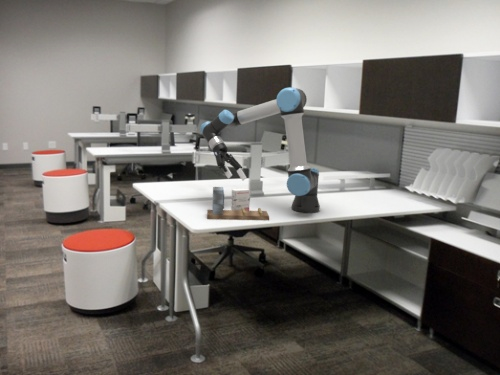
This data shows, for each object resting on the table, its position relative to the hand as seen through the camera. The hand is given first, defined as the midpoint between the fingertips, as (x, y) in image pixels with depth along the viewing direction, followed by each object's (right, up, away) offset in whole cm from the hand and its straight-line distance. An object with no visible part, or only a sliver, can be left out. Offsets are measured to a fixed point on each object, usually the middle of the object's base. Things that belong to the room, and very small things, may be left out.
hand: (237, 178), depth 245 cm
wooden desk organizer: (0, -19, -10) cm, 22 cm away
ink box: (+1, -18, +1) cm, 18 cm away
